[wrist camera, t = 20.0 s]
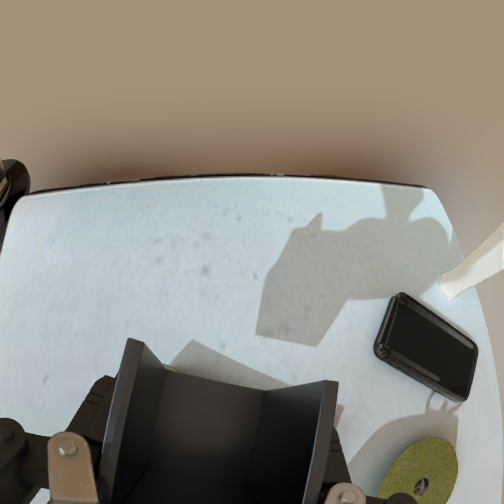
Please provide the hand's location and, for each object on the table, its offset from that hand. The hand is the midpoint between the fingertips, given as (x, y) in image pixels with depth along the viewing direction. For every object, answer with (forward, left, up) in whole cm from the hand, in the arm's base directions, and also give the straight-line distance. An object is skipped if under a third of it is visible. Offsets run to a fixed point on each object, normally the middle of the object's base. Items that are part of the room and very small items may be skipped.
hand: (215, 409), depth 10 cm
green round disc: (+23, -2, -14) cm, 27 cm away
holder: (0, -2, -4) cm, 5 cm away
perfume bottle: (+22, +23, -14) cm, 35 cm away
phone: (+20, +13, -14) cm, 28 cm away
